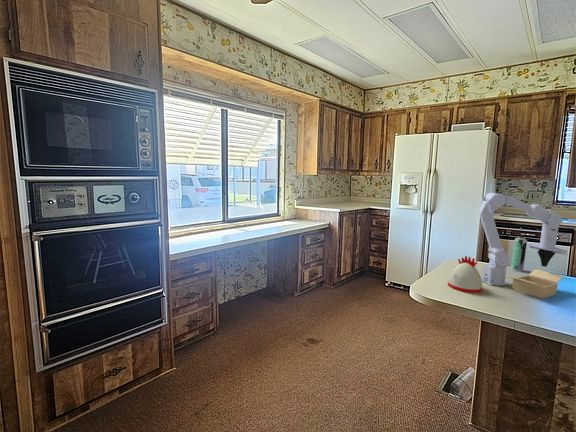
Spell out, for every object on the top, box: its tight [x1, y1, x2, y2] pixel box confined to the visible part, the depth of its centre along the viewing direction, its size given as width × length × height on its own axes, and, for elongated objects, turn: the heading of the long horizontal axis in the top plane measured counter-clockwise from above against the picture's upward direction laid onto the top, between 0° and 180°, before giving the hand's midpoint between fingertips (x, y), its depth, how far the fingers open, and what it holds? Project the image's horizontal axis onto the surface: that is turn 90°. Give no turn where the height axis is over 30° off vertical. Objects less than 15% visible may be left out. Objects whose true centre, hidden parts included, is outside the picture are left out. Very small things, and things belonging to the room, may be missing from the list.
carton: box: [511, 274, 559, 300], centre depth 144 cm, size 12×12×5 cm
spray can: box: [510, 234, 528, 273], centre depth 174 cm, size 6×6×20 cm
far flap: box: [528, 268, 564, 284], centre depth 147 cm, size 6×11×1 cm, turn 26°
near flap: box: [507, 275, 542, 287], centre depth 139 cm, size 6×11×1 cm, turn 27°
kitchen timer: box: [447, 255, 483, 294], centre depth 146 cm, size 14×14×15 cm
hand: (544, 266), depth 148 cm, fingers closed
